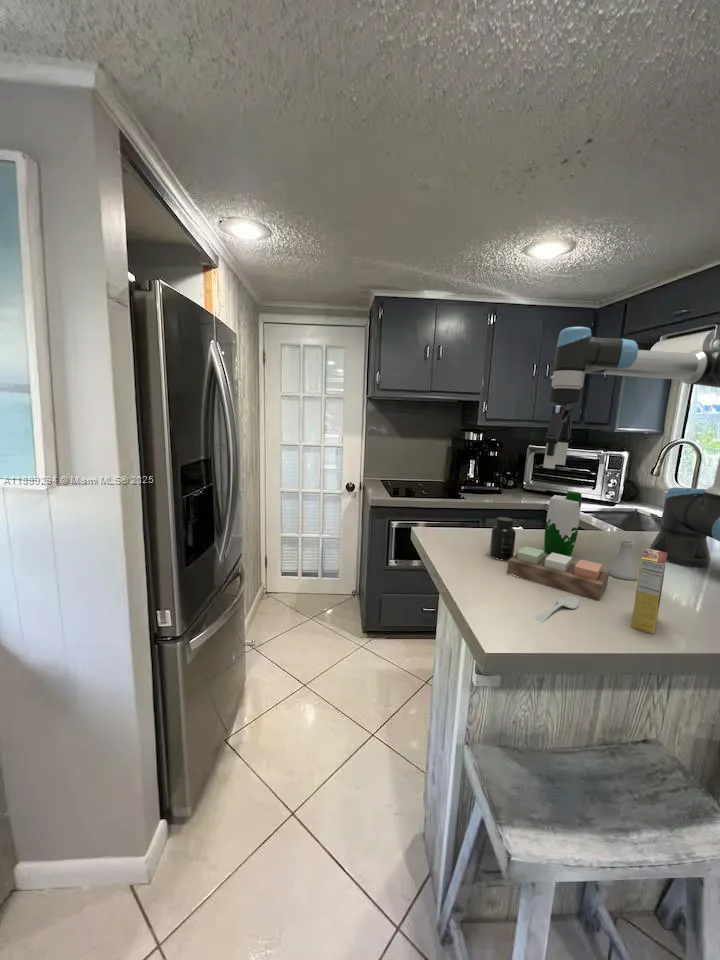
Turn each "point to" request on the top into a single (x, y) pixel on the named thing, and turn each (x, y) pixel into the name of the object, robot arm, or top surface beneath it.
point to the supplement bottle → (503, 539)
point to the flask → (623, 562)
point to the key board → (559, 577)
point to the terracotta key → (588, 569)
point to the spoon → (568, 600)
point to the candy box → (649, 590)
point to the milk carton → (562, 523)
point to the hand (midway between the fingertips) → (554, 466)
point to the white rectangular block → (558, 562)
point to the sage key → (531, 555)
